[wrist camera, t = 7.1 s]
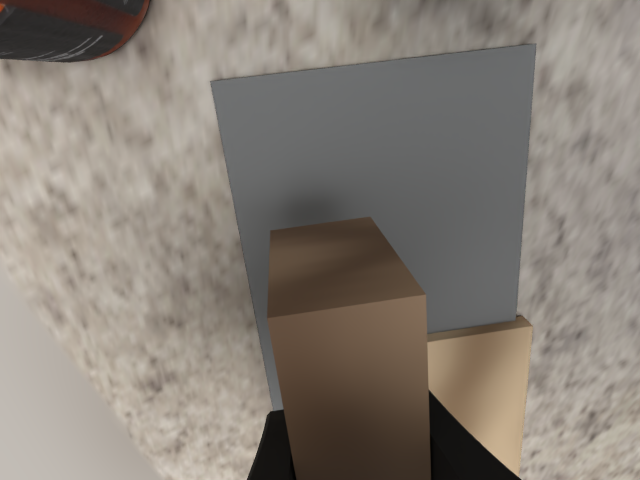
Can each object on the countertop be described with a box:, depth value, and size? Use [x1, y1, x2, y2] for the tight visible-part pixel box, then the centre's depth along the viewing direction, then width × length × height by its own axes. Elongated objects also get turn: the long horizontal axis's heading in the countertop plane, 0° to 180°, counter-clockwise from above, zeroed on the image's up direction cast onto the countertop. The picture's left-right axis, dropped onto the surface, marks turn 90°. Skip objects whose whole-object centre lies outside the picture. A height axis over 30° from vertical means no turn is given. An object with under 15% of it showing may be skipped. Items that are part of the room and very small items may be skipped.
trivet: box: [427, 316, 533, 477], centre depth 22 cm, size 6×10×1 cm, turn 6°
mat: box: [210, 44, 536, 411], centre depth 19 cm, size 12×21×1 cm, turn 6°
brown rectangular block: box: [267, 217, 431, 480], centre depth 12 cm, size 3×10×5 cm, turn 6°
